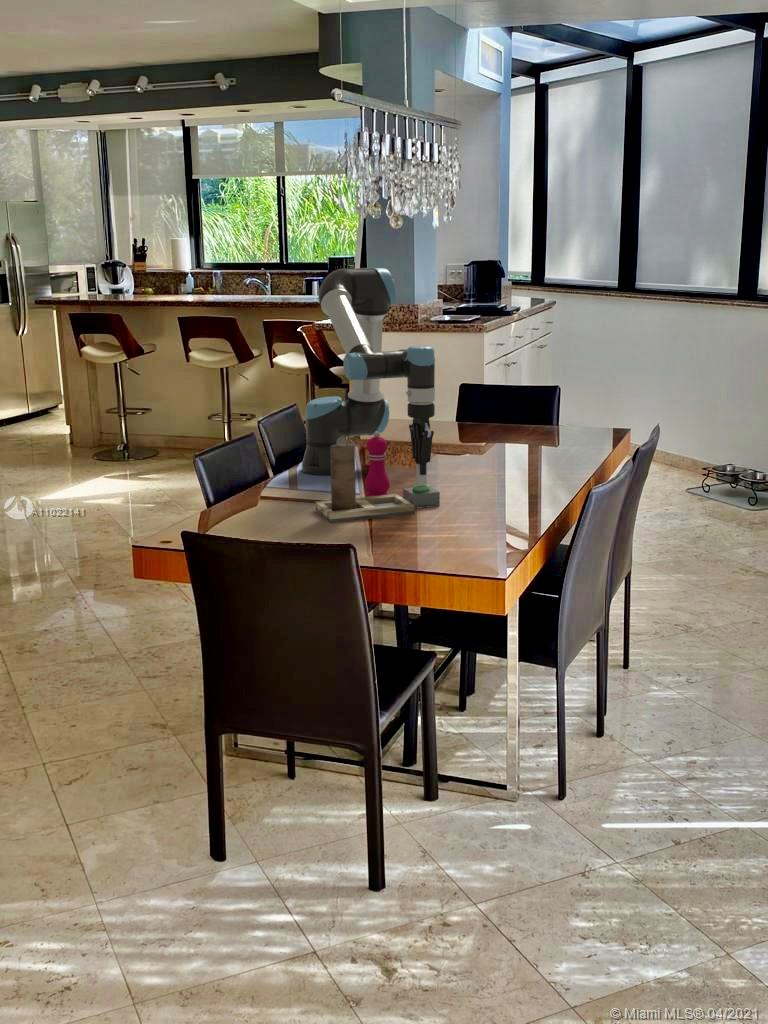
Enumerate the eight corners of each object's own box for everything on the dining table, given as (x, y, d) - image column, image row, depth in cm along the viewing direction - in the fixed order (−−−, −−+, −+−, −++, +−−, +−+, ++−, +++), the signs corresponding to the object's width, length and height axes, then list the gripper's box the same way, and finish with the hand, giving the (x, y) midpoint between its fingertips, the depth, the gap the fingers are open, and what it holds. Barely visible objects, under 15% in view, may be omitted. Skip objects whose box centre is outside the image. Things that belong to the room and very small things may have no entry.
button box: (403, 501, 304) (403, 488, 303) (429, 499, 307) (429, 485, 306) (413, 508, 297) (413, 494, 296) (439, 505, 300) (439, 491, 299)
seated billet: (328, 509, 293) (326, 435, 288) (351, 506, 295) (350, 434, 290) (335, 514, 287) (334, 440, 282) (358, 512, 289) (357, 438, 284)
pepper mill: (375, 495, 312) (375, 428, 307) (395, 499, 307) (394, 431, 302) (359, 500, 307) (358, 432, 301) (379, 504, 302) (378, 434, 297)
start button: (410, 498, 303) (410, 484, 302) (425, 496, 305) (425, 483, 304) (416, 502, 299) (416, 488, 298) (432, 500, 300) (432, 487, 299)
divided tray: (315, 510, 296) (315, 501, 295) (396, 502, 304) (396, 493, 303) (330, 522, 283) (330, 513, 283) (414, 514, 291) (414, 505, 290)
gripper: (400, 400, 299) (400, 481, 305) (417, 406, 287) (417, 491, 293) (424, 398, 302) (425, 479, 308) (442, 404, 290) (442, 489, 296)
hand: (421, 485), depth 300 cm, fingers closed
